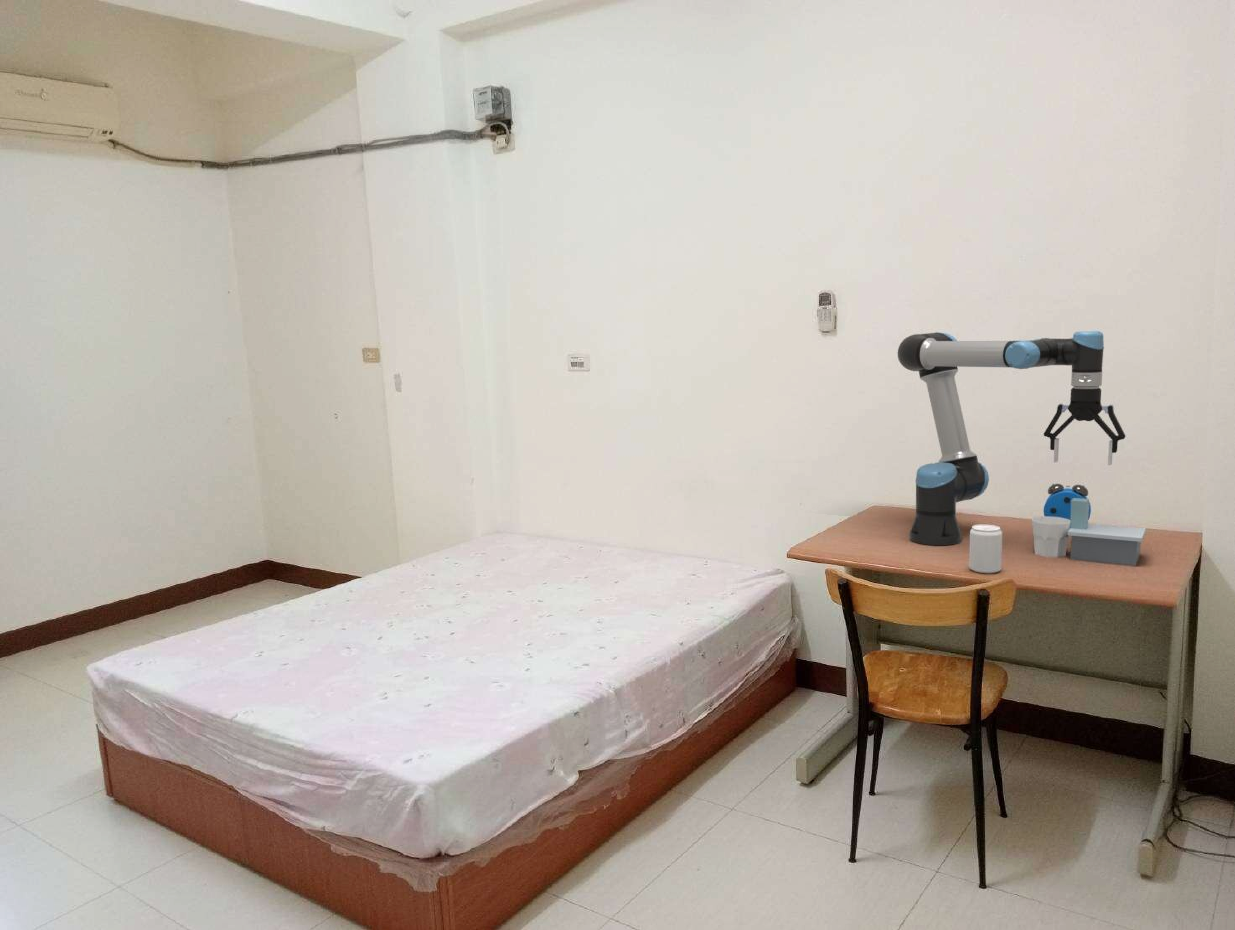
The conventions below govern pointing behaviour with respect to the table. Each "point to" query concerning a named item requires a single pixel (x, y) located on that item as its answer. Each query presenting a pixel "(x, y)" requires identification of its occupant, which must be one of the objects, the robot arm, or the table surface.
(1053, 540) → the cup
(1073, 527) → the pale blue stand
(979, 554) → the beverage can
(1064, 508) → the alarm clock
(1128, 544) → the tub
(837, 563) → the table surface
